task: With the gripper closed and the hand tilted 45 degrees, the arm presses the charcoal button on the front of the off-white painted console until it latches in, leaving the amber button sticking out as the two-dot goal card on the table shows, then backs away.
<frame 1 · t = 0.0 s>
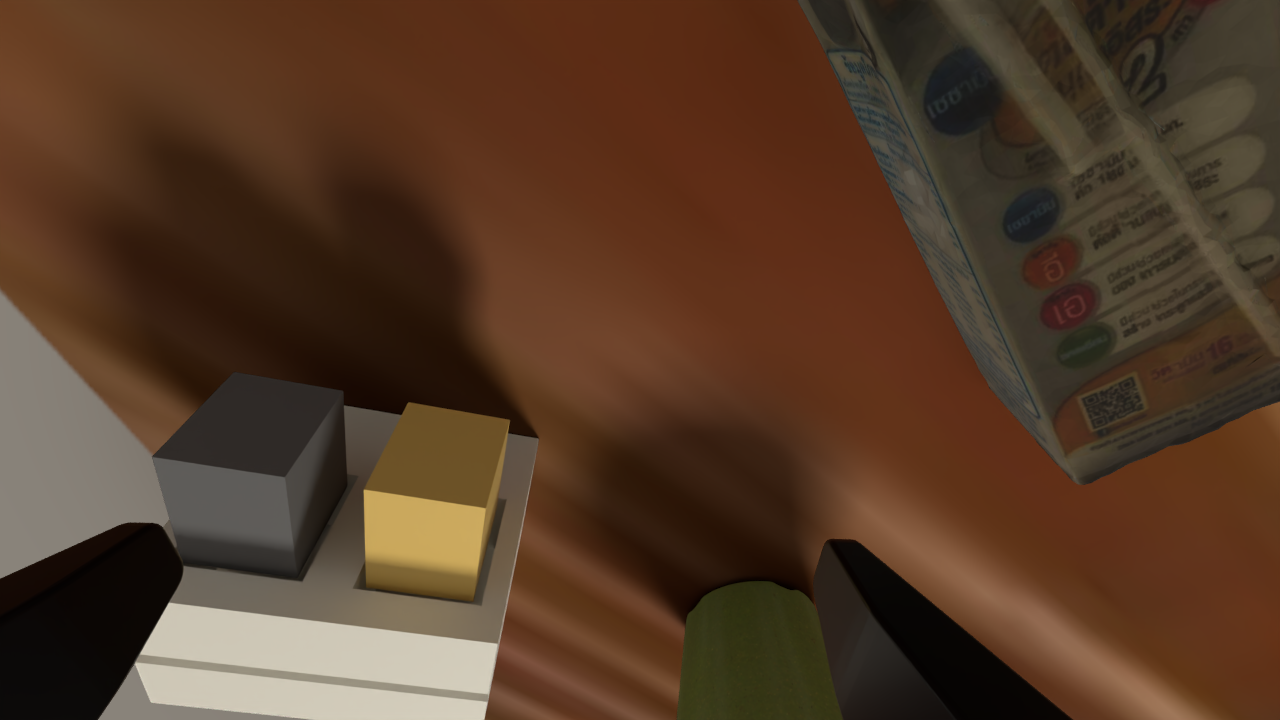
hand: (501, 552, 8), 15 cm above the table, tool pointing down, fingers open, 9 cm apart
plant pot: (748, 615, 34), on the table
charcoal button: (265, 473, 19), point 6 cm above the table, slide at 0.0 cm
console: (408, 467, 27), on the table
amber button: (440, 500, 20), point 6 cm above the table, slide at 0.0 cm
beverage carton: (1002, 140, 20), on the table
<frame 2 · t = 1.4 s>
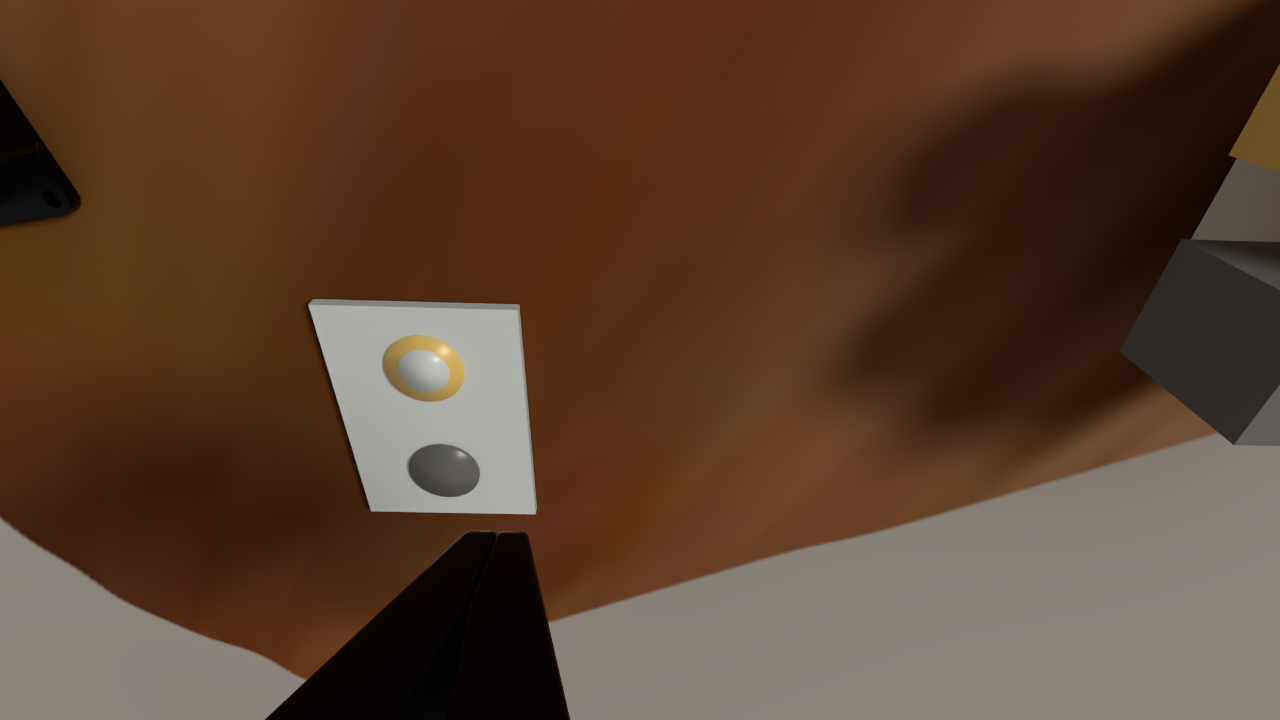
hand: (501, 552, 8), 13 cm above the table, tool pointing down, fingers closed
goal card: (438, 415, 24), on the table
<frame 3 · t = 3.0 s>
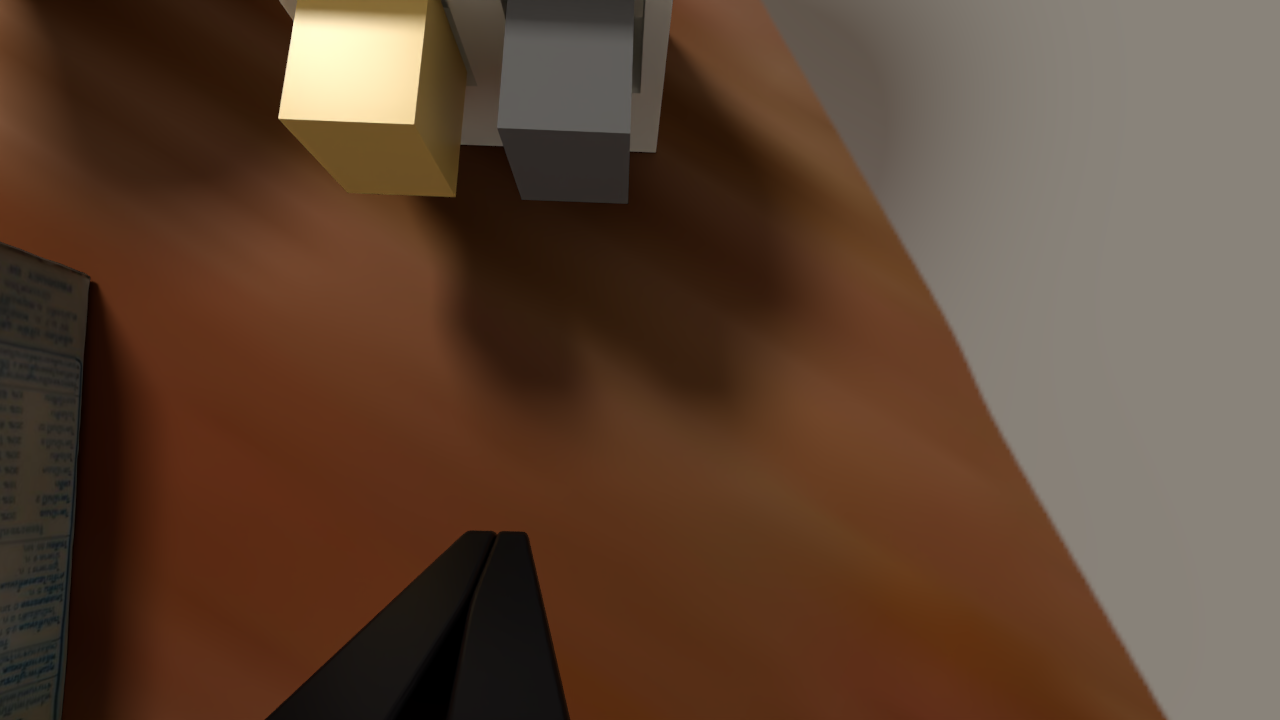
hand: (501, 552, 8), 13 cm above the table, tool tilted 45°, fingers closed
charcoal button: (573, 100, 18), point 6 cm above the table, slide at 0.0 cm
console: (522, 79, 25), on the table
amber button: (385, 92, 18), point 6 cm above the table, slide at 0.0 cm
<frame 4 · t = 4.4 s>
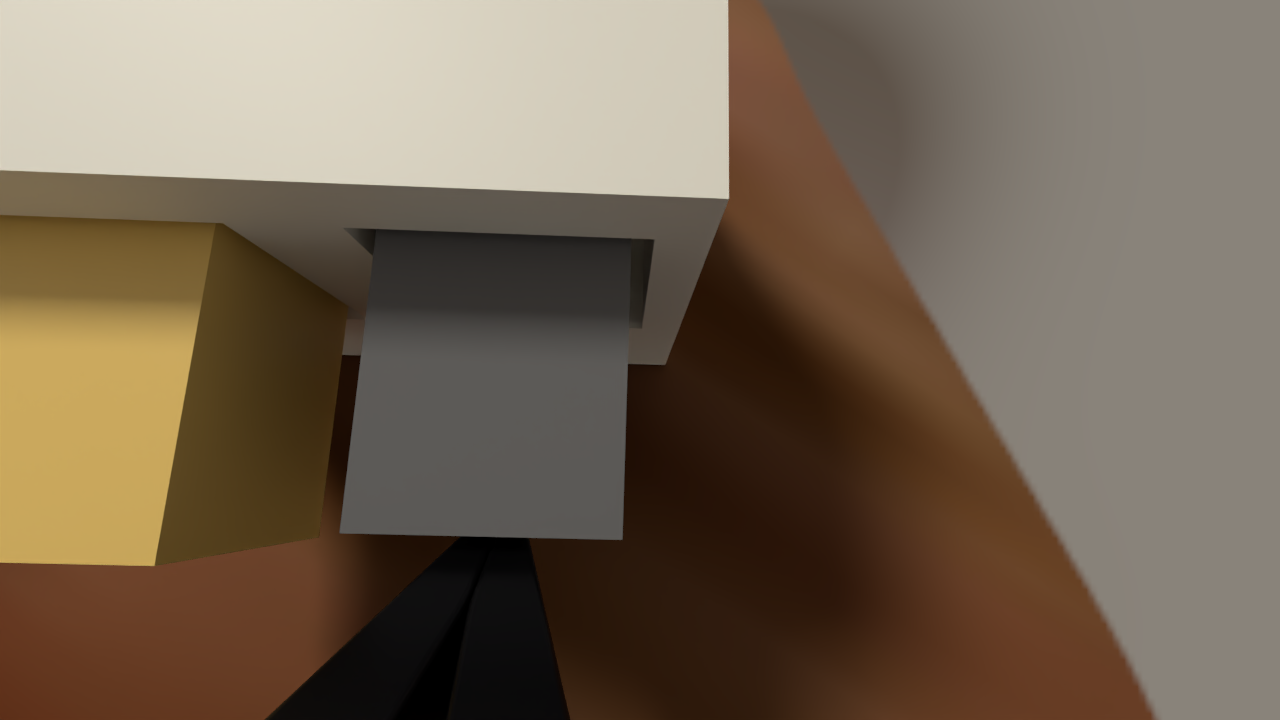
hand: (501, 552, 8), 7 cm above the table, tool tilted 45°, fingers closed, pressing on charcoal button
charcoal button: (520, 380, 10), point 6 cm above the table, slide at 0.4 cm, touching gripper
console: (464, 250, 16), on the table
amber button: (166, 396, 10), point 6 cm above the table, slide at 0.0 cm
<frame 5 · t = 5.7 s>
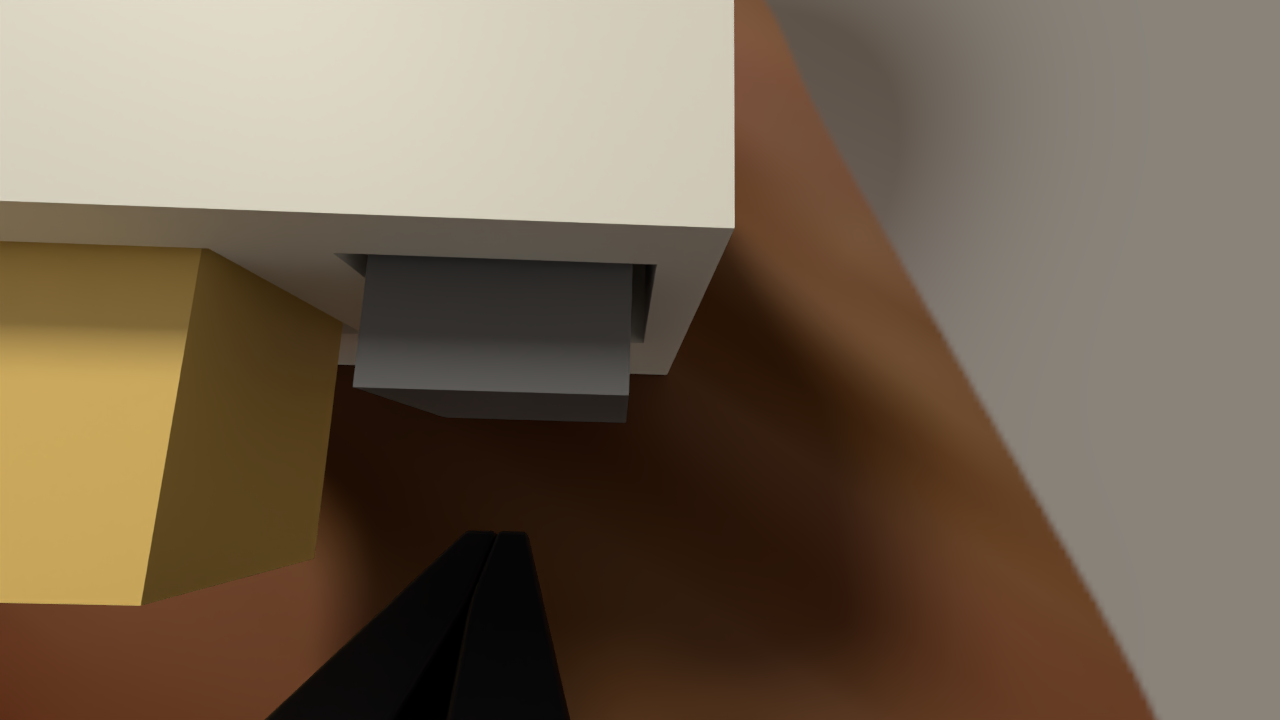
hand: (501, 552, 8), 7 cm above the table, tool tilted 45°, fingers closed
charcoal button: (527, 271, 10), point 6 cm above the table, slide at 2.6 cm
console: (462, 257, 16), on the table
amber button: (155, 419, 9), point 6 cm above the table, slide at 0.0 cm
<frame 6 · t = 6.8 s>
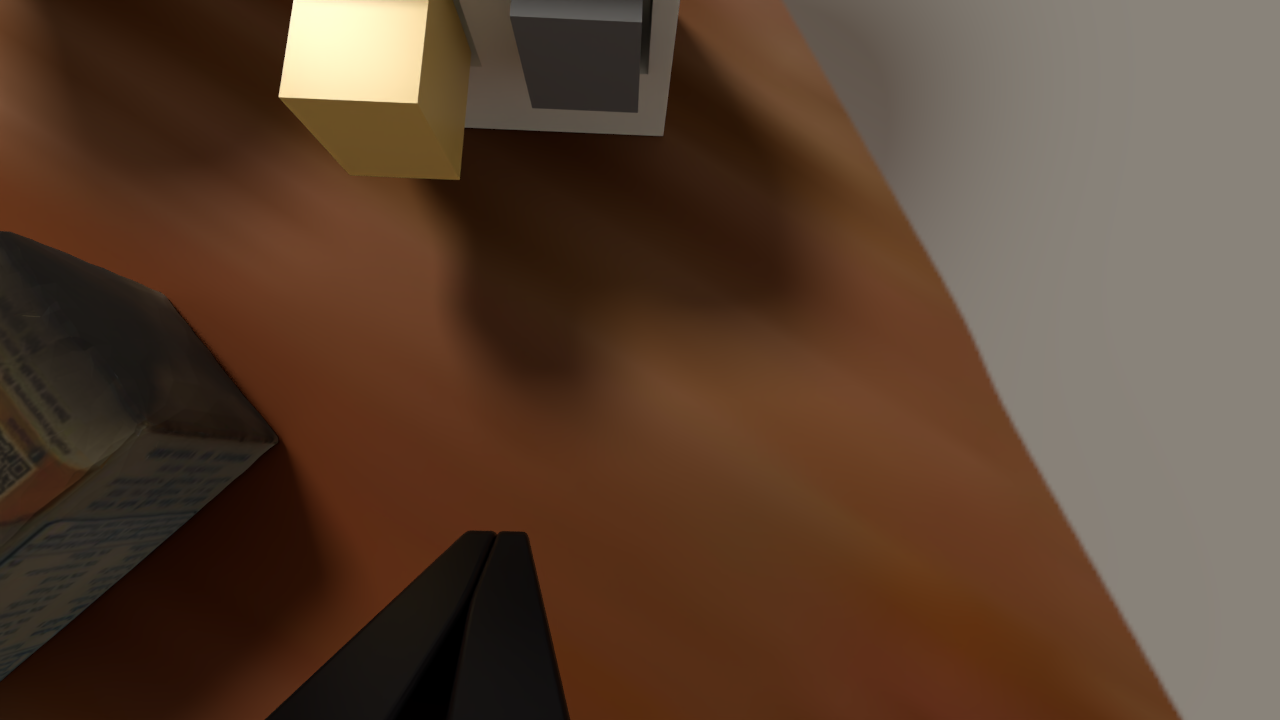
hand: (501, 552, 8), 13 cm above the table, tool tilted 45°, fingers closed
charcoal button: (584, 2, 18), point 6 cm above the table, slide at 2.6 cm
console: (527, 61, 24), on the table
amber button: (388, 71, 17), point 6 cm above the table, slide at 0.0 cm
beverage carton: (5, 548, 21), on the table
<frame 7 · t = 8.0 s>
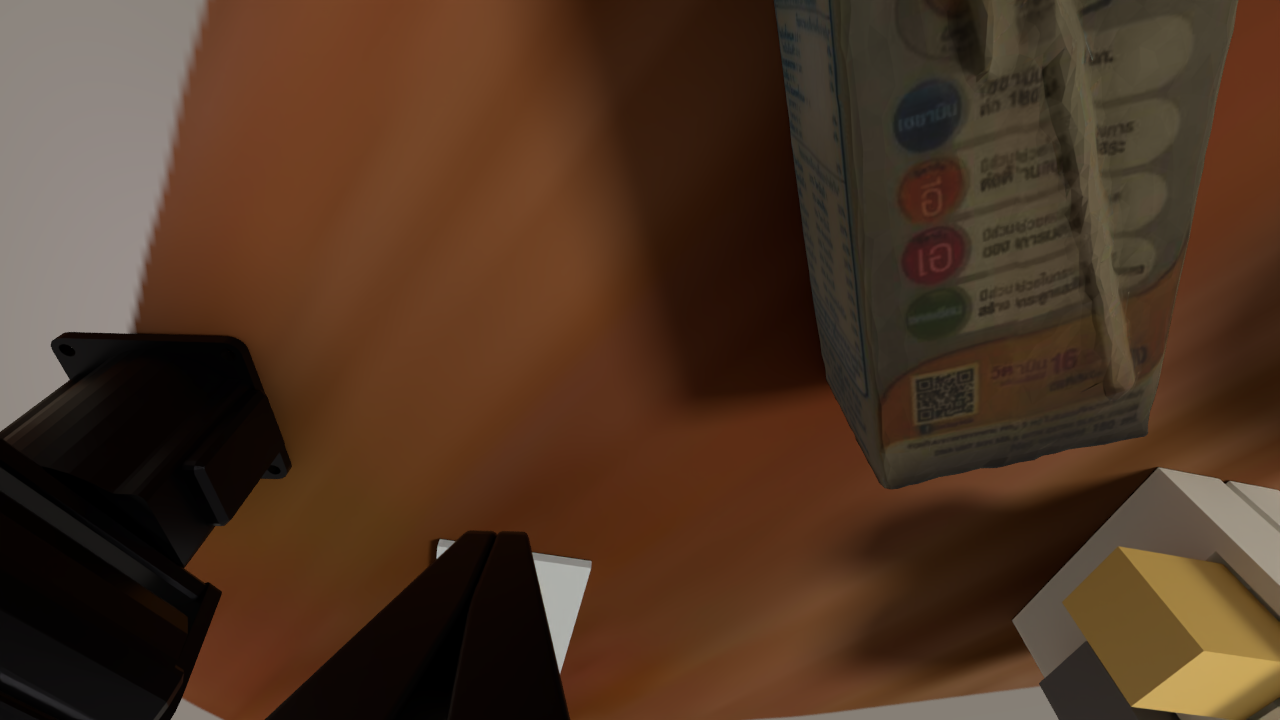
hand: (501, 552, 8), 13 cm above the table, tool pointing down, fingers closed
goal card: (505, 613, 31), on the table
charcoal button: (1138, 716, 25), point 6 cm above the table, slide at 2.6 cm
console: (1133, 561, 29), on the table
amber button: (1179, 631, 22), point 6 cm above the table, slide at 0.0 cm
beverage carton: (915, 90, 18), on the table
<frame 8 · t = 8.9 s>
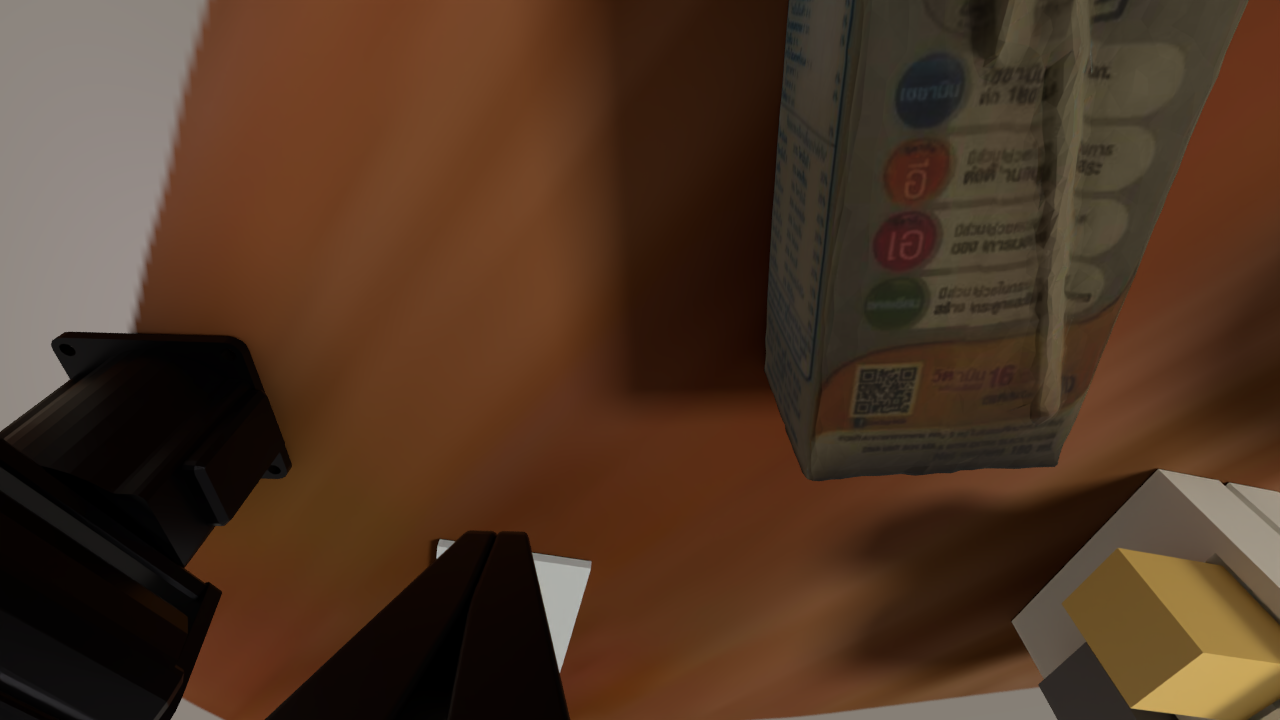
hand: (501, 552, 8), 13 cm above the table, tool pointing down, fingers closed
goal card: (504, 614, 31), on the table
charcoal button: (1137, 717, 25), point 6 cm above the table, slide at 2.6 cm
console: (1132, 562, 29), on the table
amber button: (1178, 633, 22), point 6 cm above the table, slide at 0.0 cm
beverage carton: (906, 91, 18), on the table
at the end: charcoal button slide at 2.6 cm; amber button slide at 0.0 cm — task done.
